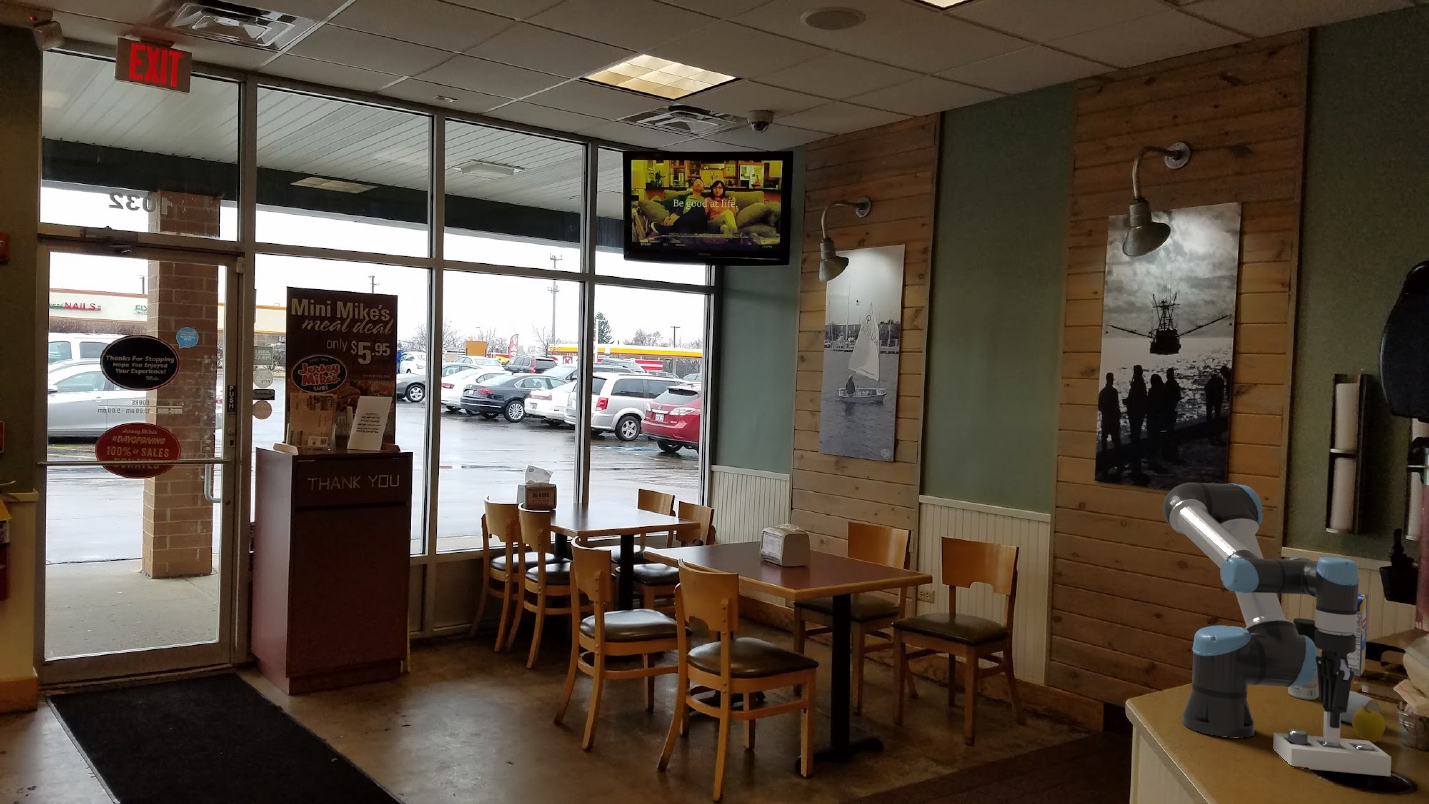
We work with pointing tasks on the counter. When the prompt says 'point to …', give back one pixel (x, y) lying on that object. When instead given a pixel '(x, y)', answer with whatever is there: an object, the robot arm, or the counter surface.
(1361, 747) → the knob
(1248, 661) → the robot arm
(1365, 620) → the beverage box
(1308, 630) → the spray can
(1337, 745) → the knob mid
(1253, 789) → the counter surface
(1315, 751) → the console
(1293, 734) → the knob
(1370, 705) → the ceramic mug
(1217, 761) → the counter surface
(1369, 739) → the apple
